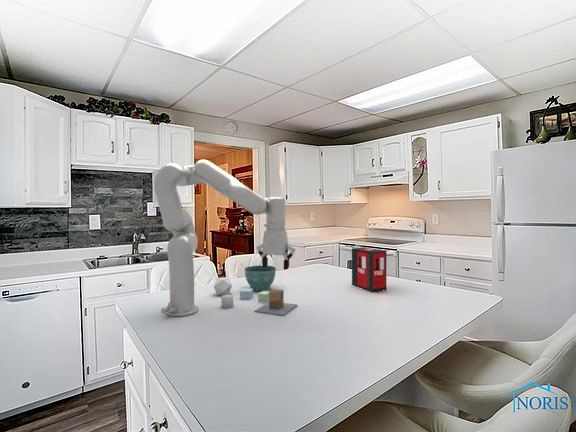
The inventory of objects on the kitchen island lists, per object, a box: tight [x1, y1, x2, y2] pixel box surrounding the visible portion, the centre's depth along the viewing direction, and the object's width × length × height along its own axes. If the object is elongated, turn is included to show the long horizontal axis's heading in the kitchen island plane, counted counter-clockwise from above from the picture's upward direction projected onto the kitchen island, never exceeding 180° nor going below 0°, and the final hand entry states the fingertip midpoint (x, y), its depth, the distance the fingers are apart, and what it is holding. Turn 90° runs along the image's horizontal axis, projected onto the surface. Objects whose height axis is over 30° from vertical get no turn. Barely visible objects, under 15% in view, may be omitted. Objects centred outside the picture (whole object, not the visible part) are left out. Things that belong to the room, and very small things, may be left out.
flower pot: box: [244, 264, 277, 292], centre depth 168 cm, size 16×16×11 cm
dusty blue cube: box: [239, 287, 254, 301], centre depth 152 cm, size 5×5×4 cm
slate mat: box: [254, 302, 298, 317], centre depth 135 cm, size 14×13×1 cm
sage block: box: [257, 290, 270, 304], centre depth 147 cm, size 5×4×4 cm
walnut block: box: [268, 288, 285, 310], centre depth 135 cm, size 4×4×7 cm
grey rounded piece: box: [220, 294, 234, 309], centre depth 139 cm, size 5×5×4 cm
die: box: [213, 276, 232, 297], centre depth 158 cm, size 8×9×10 cm
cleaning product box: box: [351, 246, 387, 293], centre depth 168 cm, size 16×9×20 cm, turn 25°
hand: (275, 268), depth 135 cm, fingers open, 9 cm apart
